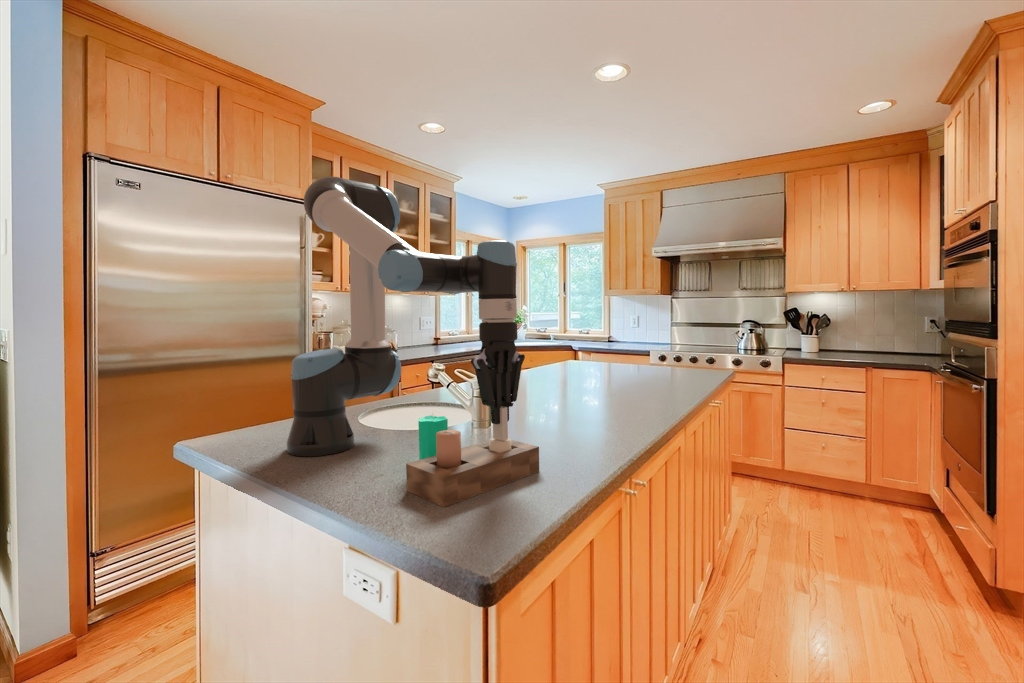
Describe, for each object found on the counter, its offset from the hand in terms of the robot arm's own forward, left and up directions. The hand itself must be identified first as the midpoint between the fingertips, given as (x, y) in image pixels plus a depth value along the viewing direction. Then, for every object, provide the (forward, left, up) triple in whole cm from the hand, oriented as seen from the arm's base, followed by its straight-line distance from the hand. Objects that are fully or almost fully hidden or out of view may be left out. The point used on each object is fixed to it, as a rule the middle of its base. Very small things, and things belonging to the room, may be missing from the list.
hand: (500, 438), depth 97 cm
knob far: (0, 0, -6) cm, 6 cm away
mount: (0, -7, -7) cm, 9 cm away
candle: (-12, -8, -7) cm, 16 cm away
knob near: (0, -13, -3) cm, 13 cm away
